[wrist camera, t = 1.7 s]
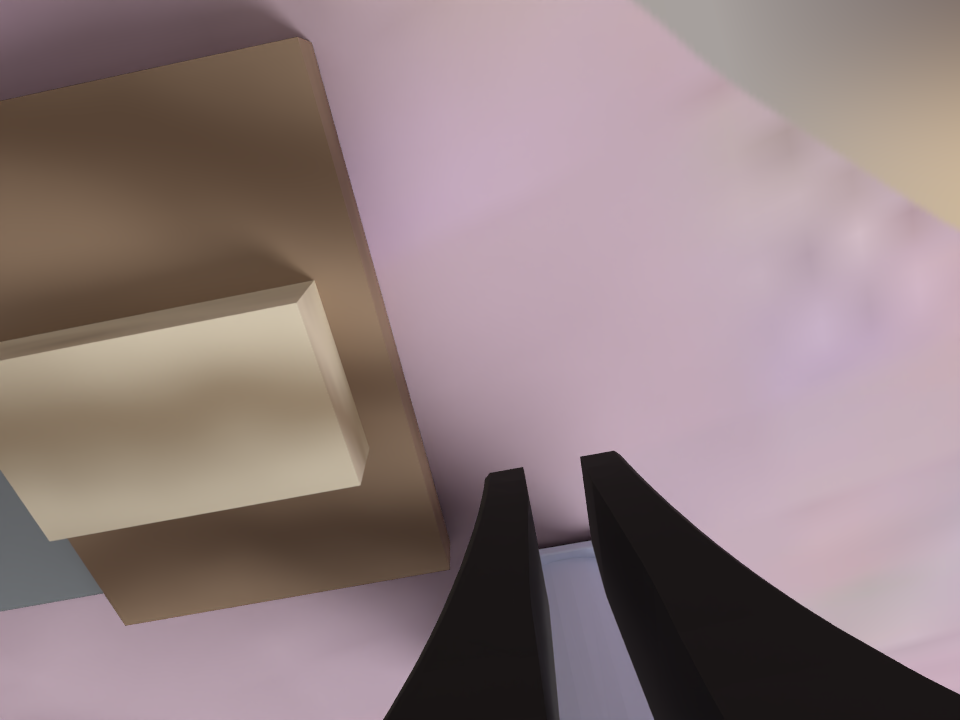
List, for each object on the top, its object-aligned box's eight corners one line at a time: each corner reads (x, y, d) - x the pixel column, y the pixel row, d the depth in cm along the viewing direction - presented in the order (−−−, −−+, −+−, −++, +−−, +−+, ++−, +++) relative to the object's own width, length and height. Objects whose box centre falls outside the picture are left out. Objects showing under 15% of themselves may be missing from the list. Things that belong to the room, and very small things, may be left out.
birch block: (369, 448, 19) (360, 485, 17) (87, 499, 19) (49, 541, 17) (314, 280, 16) (296, 303, 14) (-10, 343, 17) (-66, 373, 15)
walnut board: (450, 541, 23) (449, 569, 21) (144, 594, 23) (125, 625, 22) (311, 42, 15) (296, 36, 14) (-140, 139, 16) (-197, 143, 14)
